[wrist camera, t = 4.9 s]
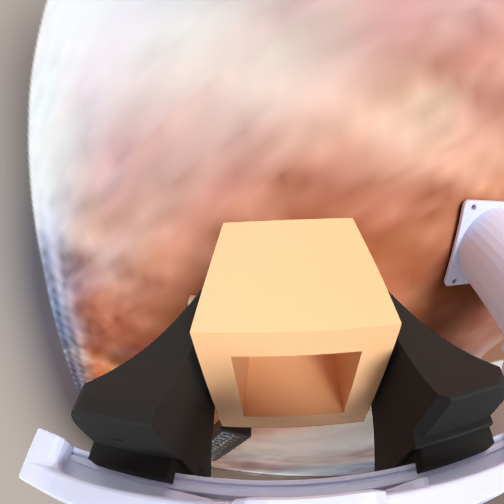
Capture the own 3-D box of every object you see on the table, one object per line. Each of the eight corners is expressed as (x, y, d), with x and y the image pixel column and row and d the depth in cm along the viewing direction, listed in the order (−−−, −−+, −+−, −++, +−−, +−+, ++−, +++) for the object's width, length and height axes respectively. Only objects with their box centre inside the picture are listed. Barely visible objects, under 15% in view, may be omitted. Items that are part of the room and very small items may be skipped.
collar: (352, 218, 12) (401, 323, 7) (341, 314, 14) (363, 421, 9) (223, 223, 12) (189, 332, 7) (237, 318, 15) (222, 426, 10)
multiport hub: (253, 422, 37) (252, 436, 35) (216, 450, 44) (215, 461, 42) (223, 414, 37) (221, 428, 35) (192, 443, 44) (190, 455, 42)
